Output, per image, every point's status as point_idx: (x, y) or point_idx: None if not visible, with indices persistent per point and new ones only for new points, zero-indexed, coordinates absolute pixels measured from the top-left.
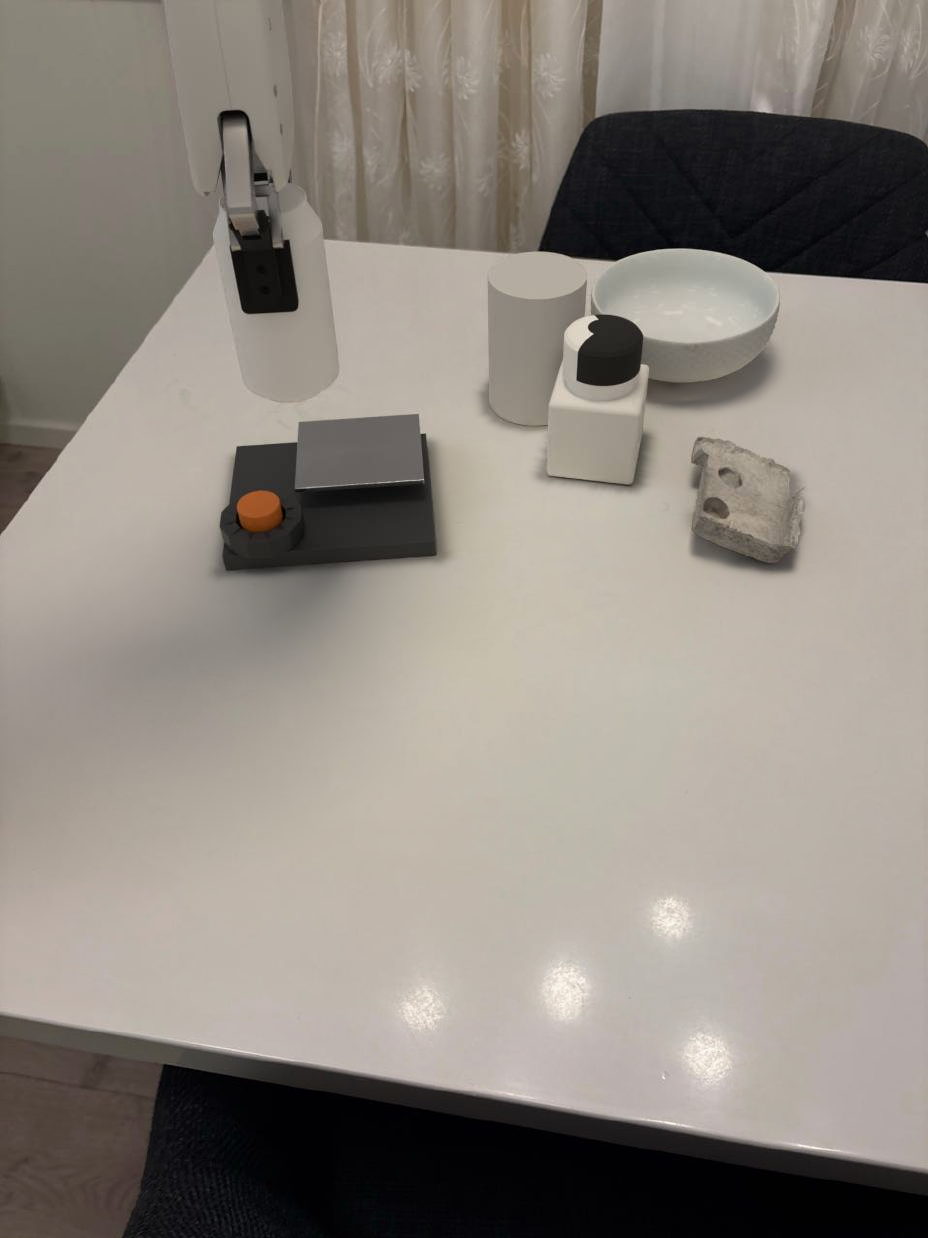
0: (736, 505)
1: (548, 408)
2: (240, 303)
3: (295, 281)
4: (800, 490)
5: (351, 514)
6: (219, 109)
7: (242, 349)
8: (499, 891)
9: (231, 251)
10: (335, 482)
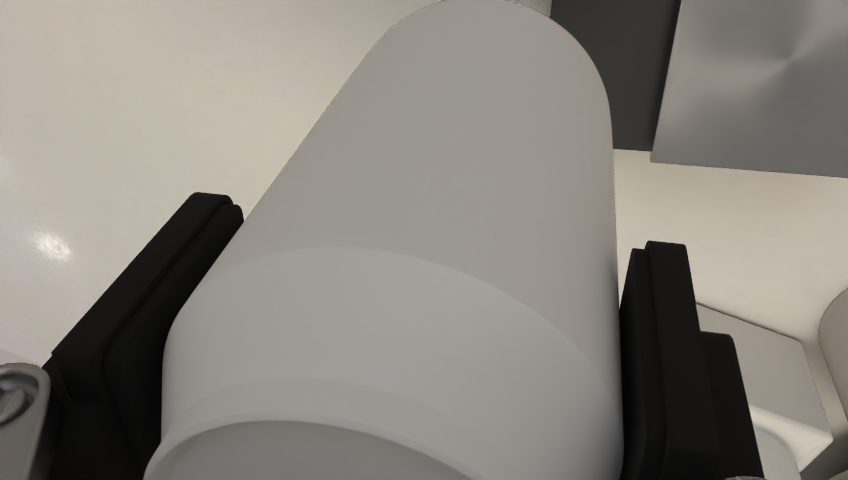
0: None
1: (827, 349)
2: (183, 204)
3: None
4: None
5: (642, 17)
6: None
7: (357, 73)
8: (40, 122)
9: (64, 341)
10: (691, 8)
